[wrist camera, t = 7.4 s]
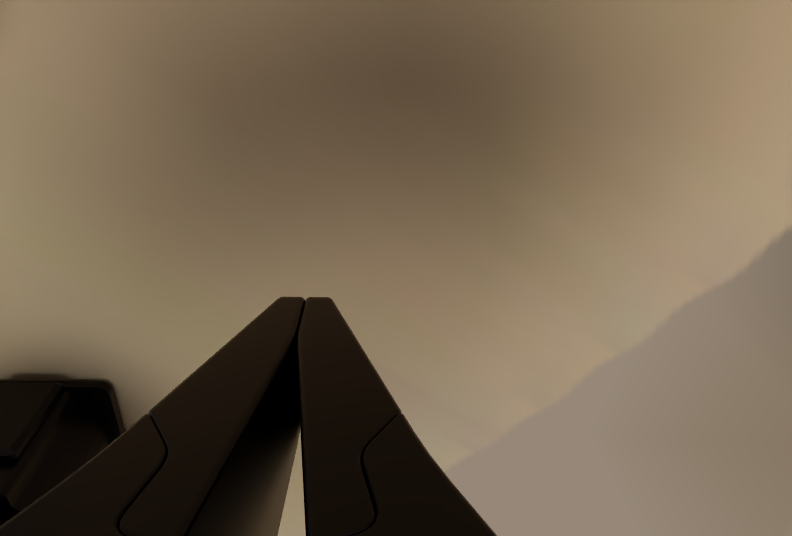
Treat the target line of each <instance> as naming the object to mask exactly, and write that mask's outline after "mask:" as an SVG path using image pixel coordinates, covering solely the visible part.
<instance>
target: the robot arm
mask: <svg viewBox="0 0 792 536" xmlns="http://www.w3.org/2000/svg"><path fill="white" fill-rule="evenodd" d="M98 391H99V392H102V393H103V394H102V393H99V392H98ZM300 428H301V448H302V468H303V488H304V507H305V527H306V536H497V535H496V534H495V533H494V532H493V530H492V529H491V528H490V527H489V526H488V525H487V523H486V522H485V521H484V520H483V519H482V518H481V516H480V515H479V514H478V513H477V512H476V510H475V509H474V508H473V507H472V506H471V504H470V503H469V502H468V501H467V500H466V499H465V497H464V496H463V495H462V494H461V493H460V491H459V490H458V489H457V488H456V487H455V485H454V484H453V483H452V482H451V481H450V479H449V478H448V477H447V476H446V474H445V473H444V472H443V471H442V469H441V468H440V467H439V466H438V464H437V463H436V462H435V461H434V459H433V458H432V457H431V456H430V454H429V453H428V451H427V450H426V448H425V447H424V445H423V444H422V442H421V441H420V439H419V438H418V437H417V435H416V434H415V432H414V431H413V429H412V427H411V426H410V424H409V423H408V421H407V419H406V418H405V416H404V415H403V414H401V410H400V408H399V407H398V405H397V404H396V402H395V400H394V399H393V397H392V395H391V394H390V392H389V391H388V389H387V387H386V386H385V384H384V383H383V381H382V379H381V378H380V376H379V374H378V373H377V371H376V370H375V368H374V366H373V365H372V363H371V362H370V360H369V358H368V357H367V355H366V353H365V352H364V350H363V349H362V347H361V345H360V344H359V342H358V341H357V339H356V337H355V336H354V334H353V332H352V331H351V329H350V328H349V326H348V324H347V323H346V321H345V320H344V318H343V316H342V315H341V313H340V311H339V310H338V308H337V307H336V305H335V303H334V302H333V300H332V299H331V298H329V297H309V298H307V299H306V301H305V299H304V298H302V297H280V298H279V299H277V300H276V301H275V302H274V303H273V304H271V305H270V306H269V307H268V308H267V309H266V310H265V311H263V312H262V313H261V314H260V315H259V316H258V317H257V318H255V319H254V320H253V321H252V322H251V323H250V324H249V325H247V326H246V327H245V328H244V329H243V330H242V331H240V332H239V333H238V334H237V335H236V336H235V337H234V338H232V339H231V340H230V341H229V342H228V343H227V344H226V345H224V346H223V347H222V348H221V349H220V350H219V351H218V352H216V353H215V354H214V355H213V356H212V357H211V358H209V359H208V360H207V361H206V362H205V363H204V364H203V365H201V366H200V367H199V368H198V369H197V370H196V371H195V372H193V373H192V374H191V375H190V376H189V377H188V378H187V379H185V380H184V381H183V382H182V383H181V384H180V385H179V386H177V387H176V388H175V389H174V390H173V391H172V392H170V393H169V394H168V395H167V396H166V397H165V398H164V399H162V400H161V401H160V402H159V403H158V404H157V405H156V406H154V407H153V408H152V409H151V410H150V411H149V415H148V414H145V415H144V416H143V417H141V418H140V419H139V420H138V421H137V422H136V423H135V424H133V425H132V426H131V427H130V428H129V429H128V430H127V431H124V427H123V423H122V420H121V416H120V413H119V409H118V405H117V402H116V398H115V395H114V391H113V388H112V387H111V386H110V385H109V384H107V383H105V382H82V381H0V536H277V535H278V530H279V526H280V521H281V517H282V512H283V508H284V503H285V498H286V494H287V489H288V485H289V480H290V476H291V471H292V467H293V462H294V458H295V453H296V448H297V444H298V438H299V433H300Z"/></svg>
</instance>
